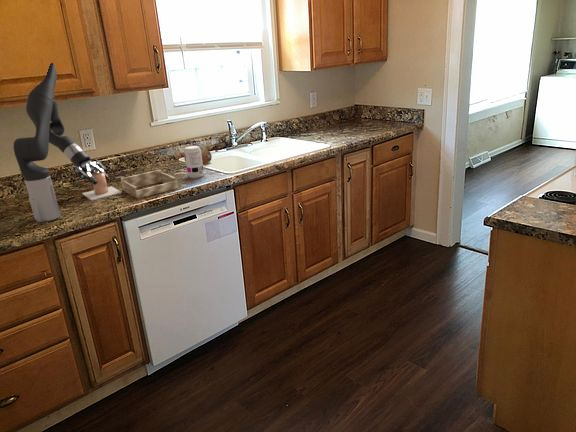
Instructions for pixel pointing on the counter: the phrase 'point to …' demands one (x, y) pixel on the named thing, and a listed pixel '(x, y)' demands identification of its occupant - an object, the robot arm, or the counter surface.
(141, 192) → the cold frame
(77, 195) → the counter surface
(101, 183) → the pot
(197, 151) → the supplement can
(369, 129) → the counter surface
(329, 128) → the counter surface
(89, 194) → the tile
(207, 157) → the tin
